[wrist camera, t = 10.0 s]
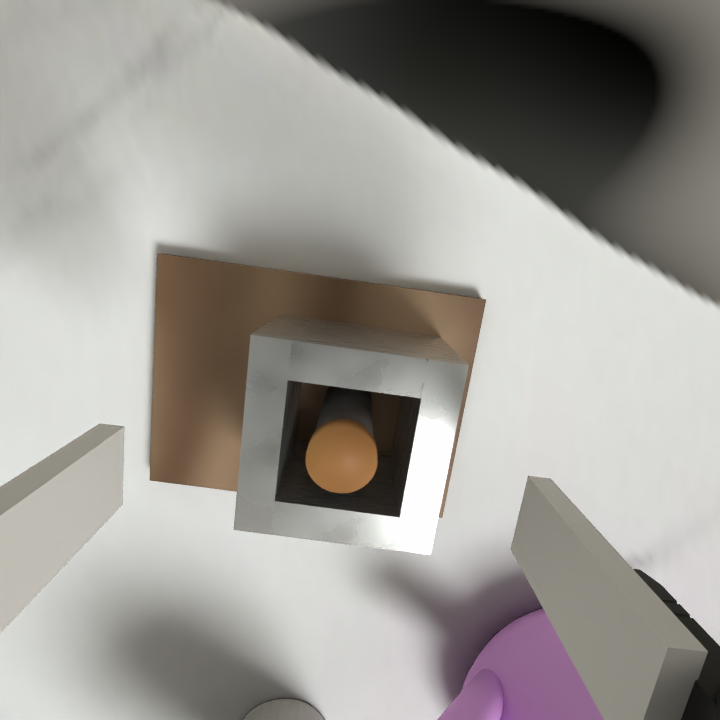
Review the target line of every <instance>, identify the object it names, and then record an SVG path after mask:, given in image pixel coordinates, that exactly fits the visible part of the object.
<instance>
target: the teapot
mask: <svg viewBox="0 0 720 720" xmlns="http://www.w3.org/2000/svg"><path fill="white" fill-rule="evenodd" d="M438 720H604V719H603V717H602V715H601V713H600V712H599V710H598V708H597V706H596V704H595V703H594V701H593V699H592V697H591V695H590V693H589V692H588V690H587V688H586V686H585V684H584V682H583V681H582V679H581V677H580V675H579V673H578V671H577V670H576V668H575V666H574V664H573V662H572V660H571V659H570V657H569V655H568V653H567V651H566V650H565V648H564V646H563V644H562V642H561V640H560V639H559V637H558V635H557V633H556V631H555V629H554V628H553V626H552V624H551V622H550V620H549V618H548V617H547V615H546V613H545V611H544V609H543V608H542V609H539V610H536V611H533V612H530V613H528V614H526V615H524V616H521V617H519V618H518V619H516V620H514V621H513V622H511V623H509V624H508V625H507V626H505V627H504V628H503V629H501V630H500V631H499V632H498V633H497V634H496V635H495V636H494V637H493V638H492V639H491V640H490V641H489V642H488V643H487V645H486V646H485V647H484V648H483V650H482V651H481V652H480V654H479V655H478V657H477V658H476V660H475V662H474V663H473V665H472V667H471V669H470V670H469V672H468V674H467V677H466V679H465V681H464V684H463V687H462V691H461V692H460V694H459V695H458V696H457V697H456V698H455V700H454V701H453V702H452V703H451V704H450V705H449V707H448V708H447V709H446V710H445V711H444V712H443V714H442V715H441V716H440V717H439V718H438Z"/></svg>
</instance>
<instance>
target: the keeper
mask: <svg viewBox="0 0 720 720" xmlns="http://www.w3.org/2000/svg"><path fill="white" fill-rule="evenodd" d="M485 303H486V300H485V299H482V298H475V297H468V296H461V295H454V294H446V293H439V292H432V291H425V290H418V289H411V288H404V287H397V286H389V285H382V284H375V283H368V282H361V281H354V280H347V279H340V278H333V277H325V276H318V275H311V274H304V273H297V272H290V271H283V270H276V269H268V268H261V267H254V266H247V265H240V264H233V263H226V262H219V261H212V260H204V259H197V258H190V257H183V256H176V255H169V254H157V279H156V308H155V338H154V368H153V398H152V428H151V458H150V480H151V481H159V482H167V483H175V484H182V485H190V486H198V487H206V488H214V489H221V490H229V491H237V486H238V475H239V463H240V451H241V440H242V428H243V417H244V405H245V393H246V382H247V370H248V359H249V347H250V335H251V334H252V333H254V332H255V331H257V330H258V329H260V328H261V327H263V326H264V325H265V324H267V323H268V322H270V321H271V320H273V319H274V318H276V317H277V316H279V315H280V314H284V315H291V316H298V317H305V318H312V319H319V320H327V321H334V322H341V323H348V324H355V325H362V326H369V327H376V328H383V329H390V330H398V331H405V332H412V333H419V334H426V335H433V336H440V337H442V338H443V339H444V340H445V341H446V342H447V343H448V344H449V345H450V346H451V347H452V348H453V349H454V350H455V351H456V352H457V354H458V355H459V356H460V357H461V358H462V359H463V360H464V361H465V362H466V363H467V364H468V365H469V368H468V373H467V378H466V383H465V387H464V392H463V397H462V402H461V407H460V412H459V417H458V422H457V427H456V432H455V437H454V442H453V447H452V452H451V457H450V462H449V466H448V471H447V476H446V481H445V486H444V491H443V496H442V501H441V506H440V511H439V516H438V517H440V518H442V516H443V511H444V506H445V501H446V496H447V491H448V486H449V481H450V476H451V471H452V466H453V461H454V456H455V452H456V447H457V442H458V437H459V432H460V427H461V422H462V417H463V412H464V407H465V402H466V397H467V392H468V387H469V382H470V377H471V372H472V367H473V362H474V357H475V352H476V347H477V342H478V338H479V333H480V328H481V323H482V318H483V313H484V308H485ZM399 401H400V395H392V394H385V393H378V392H371V391H363V390H356V389H349V388H341V387H334V386H327V385H320V384H312V383H305V382H304V383H303V391H302V400H301V409H300V417H299V426H298V434H297V440H300V441H308V442H309V445H308V448H307V452H306V459H305V461H306V467H307V471H308V473H309V475H310V477H311V478H312V479H313V481H314V482H315V483H316V484H317V485H319V486H320V487H321V488H323V489H325V490H327V491H330V492H334V493H350V492H354V491H357V490H359V489H361V488H362V487H364V486H365V485H366V484H367V483H368V482H369V481H370V480H371V479H372V478H373V476H374V474H375V471H376V468H377V462H378V460H377V451H383V452H390V453H391V448H392V442H393V436H394V430H395V424H396V418H397V413H398V407H399Z"/></svg>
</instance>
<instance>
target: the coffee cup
mask: <svg viewBox="0 0 720 720" xmlns="http://www.w3.org/2000/svg"><path fill="white" fill-rule="evenodd" d="M243 720H324V718H323V717H322V716H321V714H320V713H319V712H318V711H317V710H316V709H315V708H313V707H312V706H310V705H309V704H307V703H305V702H302V701H300V700H295V699H276V700H272V701H268V702H265V703H263V704H261V705H258V706H257V707H255V708H254V709H252V710H251V711H250V712H249V713H248V714H247V715H246V716H245V718H244V719H243Z"/></svg>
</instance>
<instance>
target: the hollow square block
mask: <svg viewBox="0 0 720 720" xmlns="http://www.w3.org/2000/svg"><path fill="white" fill-rule="evenodd" d="M468 368H469V365H468V364H467V363H466V362H465V361H464V360H463V359H462V358H461V357H460V356H459V355H458V354H457V352H456V351H455V350H454V349H453V348H452V347H451V346H450V345H449V344H448V343H447V342H446V341H445V340H444V339H443V338H442V337H440V336H433V335H426V334H419V333H412V332H405V331H398V330H390V329H383V328H376V327H369V326H362V325H355V324H348V323H341V322H334V321H327V320H319V319H312V318H305V317H298V316H291V315H284V314H280V315H279V316H277V317H276V318H274V319H273V320H271V321H270V322H268V323H267V324H265V325H264V326H263V327H261V328H260V329H258V330H257V331H255V332H254V333H252V334H251V335H250V347H249V359H248V370H247V382H246V393H245V405H244V417H243V428H242V440H241V451H240V463H239V475H238V486H237V498H236V510H235V521H234V530H240V531H247V532H255V533H263V534H271V535H279V536H286V537H294V538H302V539H310V540H318V541H325V542H333V543H341V544H349V545H357V546H364V547H372V548H380V549H388V550H395V551H403V552H411V553H419V554H427V555H431V550H432V545H433V541H434V536H435V531H436V526H437V521H438V516H439V511H440V506H441V501H442V496H443V491H444V486H445V481H446V476H447V471H448V466H449V462H450V457H451V452H452V447H453V442H454V437H455V432H456V427H457V422H458V417H459V412H460V407H461V402H462V397H463V392H464V387H465V383H466V378H467V373H468ZM304 382H305V383H312V384H320V385H327V386H334V387H341V388H349V389H356V390H363V391H371V392H378V393H385V394H392V395H400V401H399V407H398V413H397V418H396V424H395V430H394V436H393V442H392V448H391V453H390V452H383V451H377V460H378V462H377V468H376V471H375V474H374V476H373V478H372V479H371V480H370V481H369V482H368V483H367V484H366V485H365V486H364V487H362V488H361V489H359V490H357V491H354V492H350V493H334V492H330V491H327V490H325V489H323V488H321V487H320V486H319V485H317V484H316V483H315V482H314V481H313V479H312V478H311V477H310V475H309V473H308V471H307V467H306V461H305V459H306V452H307V448H308V445H309V442H308V441H300V440H297V434H298V426H299V417H300V409H301V400H302V391H303V383H304Z"/></svg>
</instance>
